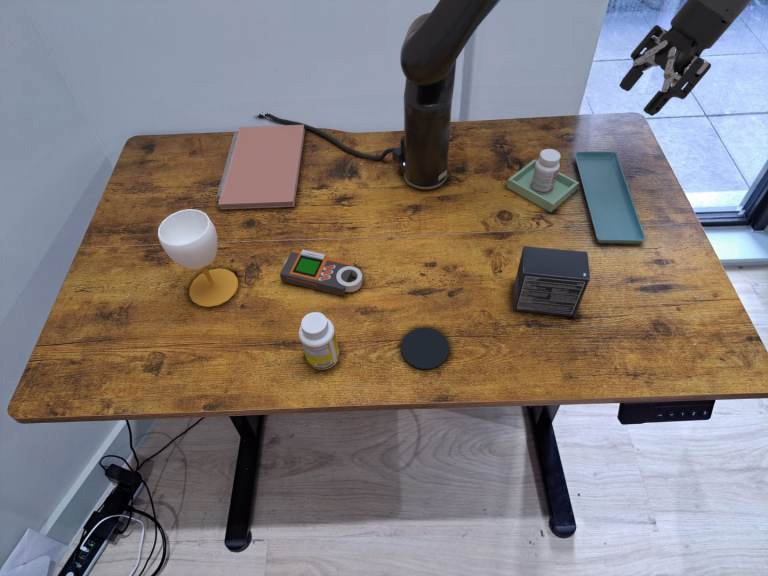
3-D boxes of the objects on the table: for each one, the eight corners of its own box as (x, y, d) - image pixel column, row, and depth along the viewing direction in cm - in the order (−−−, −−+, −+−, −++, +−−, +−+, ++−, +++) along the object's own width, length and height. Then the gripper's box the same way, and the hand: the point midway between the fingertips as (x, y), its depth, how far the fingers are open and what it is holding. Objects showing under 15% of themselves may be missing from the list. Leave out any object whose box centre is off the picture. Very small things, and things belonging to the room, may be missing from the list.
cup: (185, 278, 97) (151, 217, 84) (232, 263, 99) (206, 201, 86) (194, 314, 91) (159, 254, 79) (243, 296, 93) (217, 236, 81)
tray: (506, 187, 109) (508, 179, 107) (532, 167, 112) (534, 159, 111) (550, 212, 104) (553, 204, 102) (576, 190, 107) (579, 182, 106)
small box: (573, 289, 91) (589, 249, 83) (575, 318, 87) (592, 280, 79) (513, 282, 93) (523, 243, 85) (512, 311, 89) (523, 273, 81)
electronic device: (355, 291, 90) (277, 272, 92) (356, 300, 92) (280, 282, 95) (367, 263, 94) (291, 245, 96) (367, 273, 96) (293, 255, 99)
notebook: (236, 133, 125) (234, 126, 123) (305, 130, 124) (303, 123, 123) (215, 210, 108) (212, 203, 106) (294, 207, 108) (292, 200, 106)
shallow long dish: (643, 247, 97) (648, 238, 95) (594, 247, 97) (598, 238, 95) (613, 160, 113) (616, 151, 111) (571, 160, 113) (573, 151, 111)
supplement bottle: (323, 336, 87) (314, 301, 79) (346, 354, 85) (340, 319, 77) (299, 358, 85) (288, 324, 77) (323, 377, 82) (314, 344, 74)
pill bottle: (553, 196, 106) (562, 163, 99) (529, 193, 107) (537, 161, 100) (553, 181, 109) (562, 148, 102) (530, 179, 109) (538, 146, 103)
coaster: (391, 349, 85) (391, 347, 85) (423, 320, 89) (424, 319, 88) (426, 379, 82) (426, 377, 81) (458, 348, 85) (459, 347, 84)
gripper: (672, -19, 81) (601, 74, 91) (726, 15, 72) (641, 114, 82) (701, 1, 84) (629, 88, 94) (757, 35, 75) (671, 129, 85)
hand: (635, 100), depth 88 cm, fingers open, 8 cm apart
